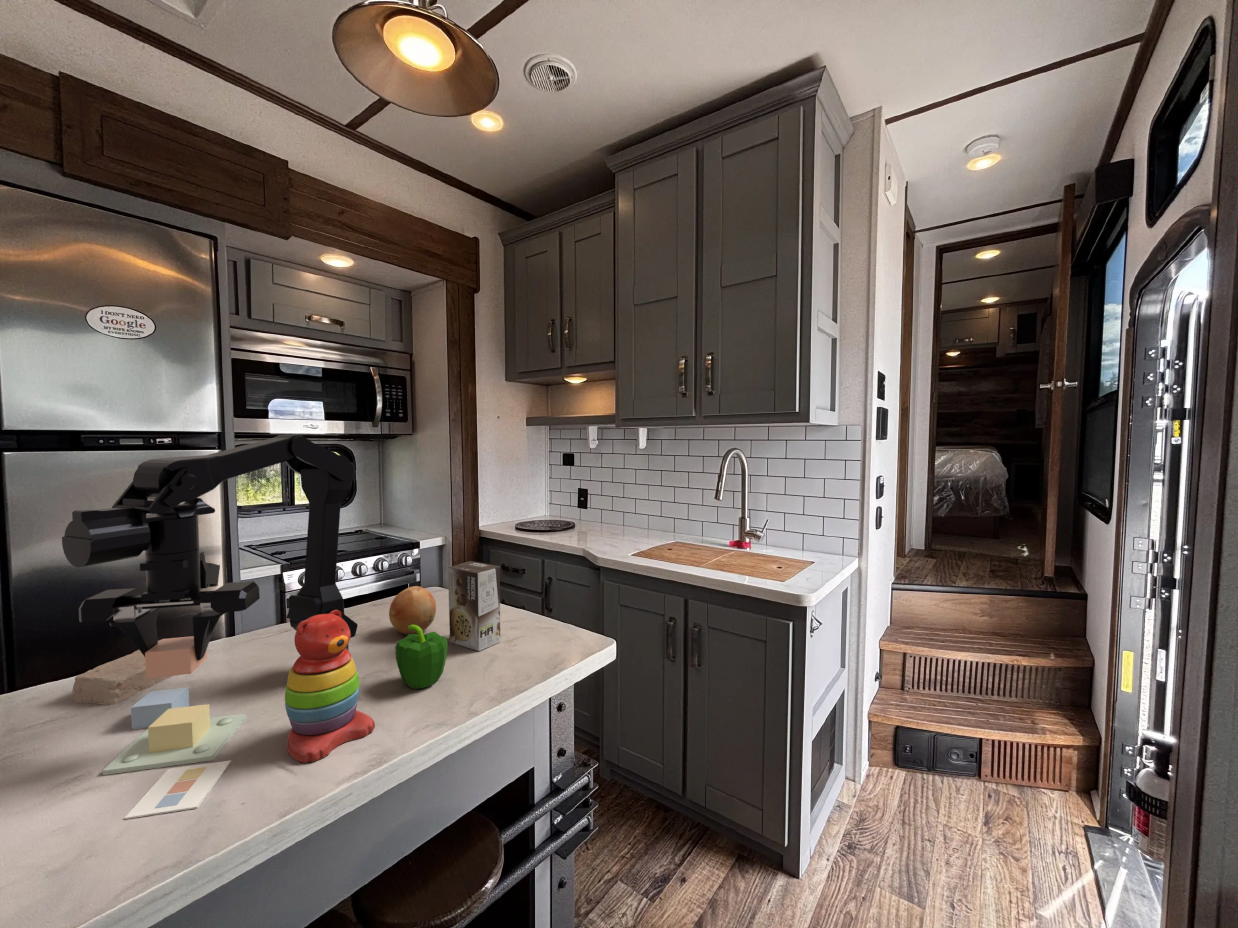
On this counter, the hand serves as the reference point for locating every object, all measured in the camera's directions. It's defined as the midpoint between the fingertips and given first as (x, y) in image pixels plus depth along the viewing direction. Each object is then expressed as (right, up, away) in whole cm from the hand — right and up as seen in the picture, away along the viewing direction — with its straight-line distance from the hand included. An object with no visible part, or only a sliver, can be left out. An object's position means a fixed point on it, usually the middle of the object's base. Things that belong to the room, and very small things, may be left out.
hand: (177, 660), depth 74 cm
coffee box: (+31, -10, +37) cm, 50 cm away
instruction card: (+8, -13, -9) cm, 17 cm away
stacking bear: (+19, -12, +3) cm, 23 cm away
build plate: (0, -12, +1) cm, 12 cm away
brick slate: (-8, -12, +7) cm, 16 cm away
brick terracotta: (0, -1, 0) cm, 1 cm away
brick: (-22, -11, +20) cm, 32 cm away
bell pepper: (+27, -11, +19) cm, 35 cm away
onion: (+16, -10, +42) cm, 47 cm away
